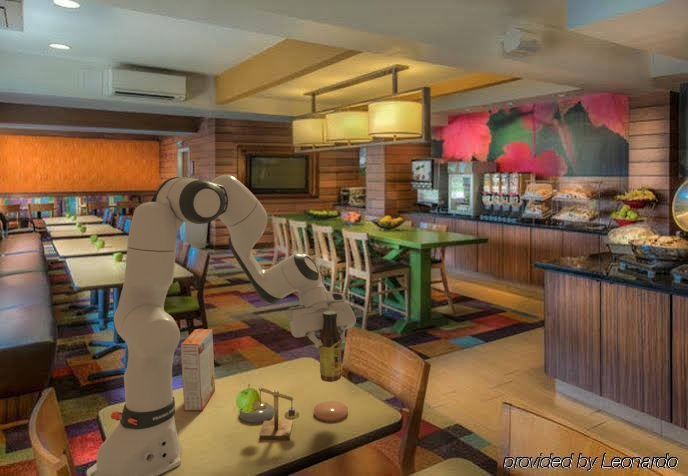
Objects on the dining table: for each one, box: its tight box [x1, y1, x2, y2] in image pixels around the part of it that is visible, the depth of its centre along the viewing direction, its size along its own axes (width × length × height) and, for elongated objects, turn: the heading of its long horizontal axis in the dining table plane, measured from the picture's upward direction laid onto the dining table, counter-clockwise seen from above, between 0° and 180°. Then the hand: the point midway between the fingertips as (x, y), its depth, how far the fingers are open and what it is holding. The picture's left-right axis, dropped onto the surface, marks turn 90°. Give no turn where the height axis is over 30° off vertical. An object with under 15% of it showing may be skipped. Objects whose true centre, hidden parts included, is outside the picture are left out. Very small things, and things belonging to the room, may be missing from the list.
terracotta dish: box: [313, 400, 349, 422], centre depth 155 cm, size 10×10×1 cm
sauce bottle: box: [319, 311, 342, 383], centre depth 152 cm, size 7×6×20 cm
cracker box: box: [180, 328, 216, 412], centre depth 161 cm, size 14×6×21 cm, turn 178°
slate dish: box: [239, 403, 274, 424], centre depth 154 cm, size 10×10×1 cm
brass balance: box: [252, 387, 300, 441], centre depth 143 cm, size 13×8×13 cm, turn 90°
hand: (331, 344), depth 152 cm, fingers closed on sauce bottle, 6 cm apart
